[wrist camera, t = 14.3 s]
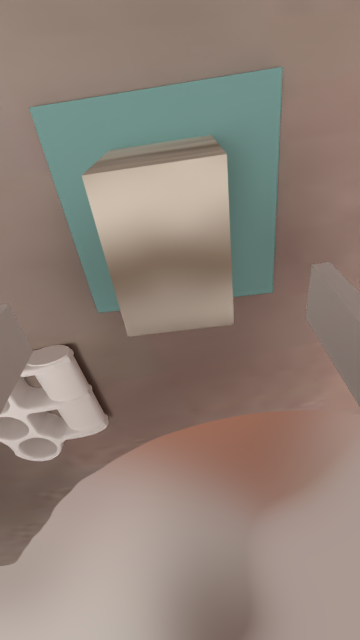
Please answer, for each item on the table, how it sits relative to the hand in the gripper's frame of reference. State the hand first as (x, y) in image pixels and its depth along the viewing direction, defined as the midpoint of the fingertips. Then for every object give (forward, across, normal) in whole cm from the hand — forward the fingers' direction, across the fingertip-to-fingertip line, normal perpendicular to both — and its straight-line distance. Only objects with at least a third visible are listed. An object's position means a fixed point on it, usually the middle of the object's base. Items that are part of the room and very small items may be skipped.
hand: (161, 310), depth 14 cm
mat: (+13, 0, 0) cm, 13 cm away
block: (+13, 0, 0) cm, 13 cm away
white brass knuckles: (+14, -18, -18) cm, 29 cm away
